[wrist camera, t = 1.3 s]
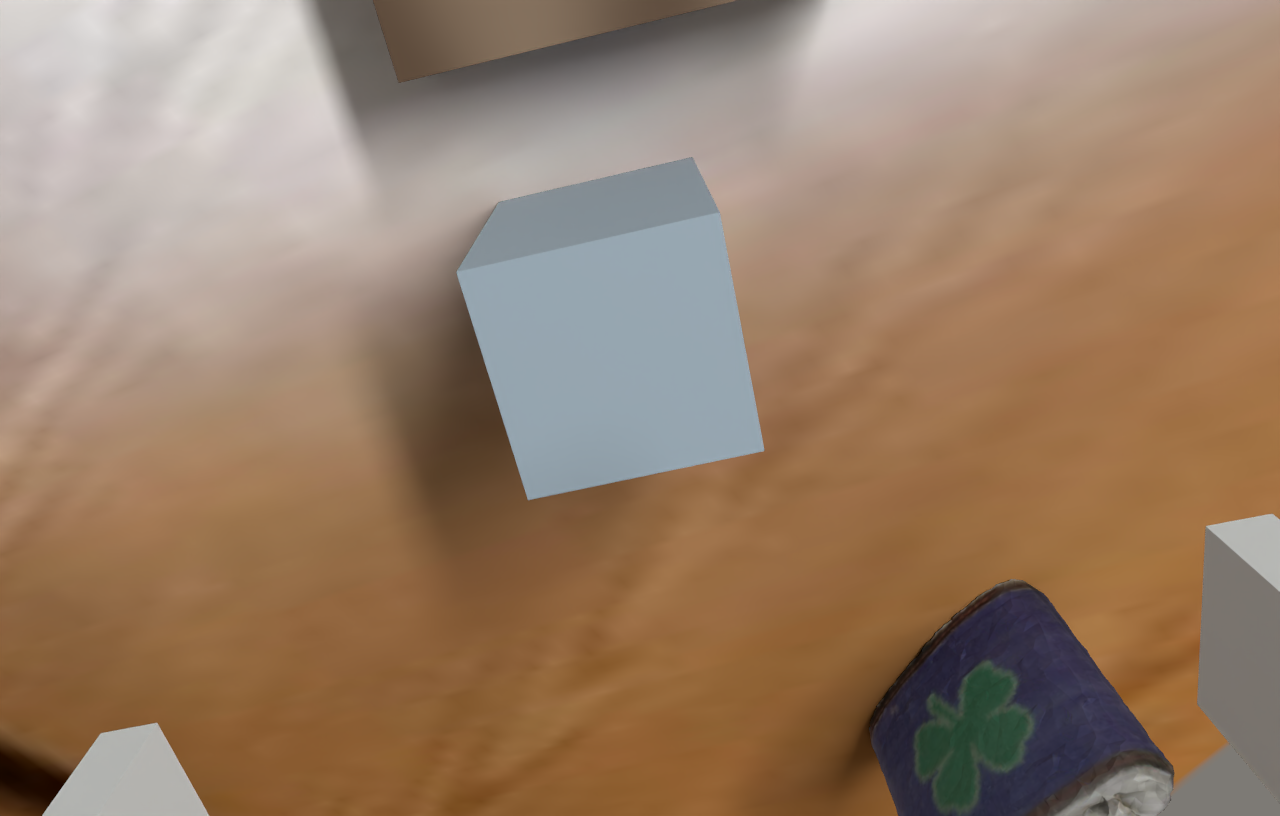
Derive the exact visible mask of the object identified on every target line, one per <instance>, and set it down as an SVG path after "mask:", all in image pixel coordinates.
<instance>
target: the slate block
mask: <svg viewBox="0 0 1280 816" xmlns="http://www.w3.org/2000/svg"><path fill="white" fill-rule="evenodd" d="M456 273H457V276H458V279H459V282H460V286H461V289H462V292H463V295H464V298H465V301H466V305H467V308H468V311H469V314H470V317H471V321H472V324H473V327H474V330H475V333H476V336H477V340H478V343H479V346H480V349H481V352H482V355H483V359H484V362H485V365H486V368H487V371H488V374H489V378H490V381H491V384H492V387H493V390H494V394H495V397H496V400H497V403H498V406H499V409H500V413H501V416H502V419H503V422H504V425H505V428H506V432H507V435H508V438H509V441H510V444H511V448H512V451H513V454H514V457H515V460H516V463H517V467H518V470H519V473H520V476H521V479H522V482H523V486H524V489H525V492H526V495H527V498H528V500H531V499H536V498H541V497H546V496H550V495H555V494H560V493H565V492H570V491H574V490H579V489H584V488H589V487H594V486H598V485H603V484H608V483H613V482H618V481H622V480H627V479H632V478H637V477H642V476H646V475H651V474H656V473H661V472H666V471H670V470H675V469H680V468H685V467H690V466H694V465H699V464H704V463H709V462H714V461H718V460H723V459H728V458H733V457H738V456H742V455H747V454H752V453H757V452H761V451H764V446H763V441H762V435H761V430H760V425H759V419H758V414H757V409H756V403H755V398H754V393H753V387H752V382H751V377H750V371H749V366H748V361H747V355H746V350H745V345H744V339H743V334H742V329H741V323H740V318H739V313H738V307H737V302H736V297H735V292H734V286H733V281H732V276H731V270H730V265H729V260H728V254H727V249H726V244H725V238H724V233H723V228H722V222H721V217H720V212H719V210H718V208H717V206H716V204H715V202H714V200H713V198H712V196H711V194H710V192H709V190H708V188H707V186H706V184H705V182H704V180H703V178H702V176H701V174H700V172H699V169H698V167H697V165H696V163H695V161H694V159H693V157H691V158H686V159H682V160H678V161H673V162H669V163H665V164H661V165H656V166H652V167H648V168H643V169H639V170H635V171H630V172H626V173H622V174H617V175H613V176H609V177H605V178H600V179H596V180H592V181H587V182H583V183H579V184H574V185H570V186H566V187H562V188H557V189H553V190H549V191H544V192H540V193H536V194H531V195H527V196H523V197H518V198H514V199H510V200H506V201H501V202H499V203H498V205H497V206H496V208H495V209H494V211H493V213H492V214H491V216H490V218H489V219H488V221H487V223H486V224H485V226H484V227H483V229H482V231H481V232H480V234H479V236H478V237H477V239H476V241H475V242H474V244H473V246H472V247H471V249H470V250H469V252H468V254H467V255H466V257H465V259H464V260H463V262H462V264H461V265H460V267H459V268H458V270H457V272H456Z"/></svg>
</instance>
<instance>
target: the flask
mask: <svg viewBox="0 0 1280 816" xmlns="http://www.w3.org/2000/svg"><path fill="white" fill-rule="evenodd" d="M876 707H877V708H876V710H875V712H874V715H873V717H872V719H871V720H870V727H869V730H870V737H871V744H872V747H873V749H874V751H875V753H876V756H877V758H878V760H879V763H880V766H881V769H882V772H883V774H884V776H885V779H886V782H887V784H888V787H889V790H890V793H891V795H892V798H893V800H894V803H895V806H896V809H897V813H898V816H1157V815H1158V814H1159V813H1161V812H1162V811H1164V810H1165V808H1166V807H1167V806H1168V804H1169V802H1170V801H1171V796H1170V793H1171V792H1172V791H1173V777H1174V770H1173V766H1172V765H1171V763H1170V762H1169V761H1168V760H1167V759H1166V758H1165V756H1164V754H1163V753H1162V752H1161V751H1160V750H1159V748H1158V747H1157V746H1156V745H1154V743H1153V742H1152V740H1151V739H1150V738H1149V736H1148V734H1147V732H1146V731H1145V729H1144V728H1143V727H1142V725H1141V724H1140V723H1139V721H1138V720H1137V719H1136V717H1135V716H1134V715H1133V713H1132V712H1131V711H1130V710H1129V708H1128V707H1127V706H1126V705H1125V704H1124V702H1123V700H1122V699H1121V697H1120V696H1119V695H1118V693H1117V692H1116V690H1115V689H1114V687H1113V686H1112V685H1111V684H1110V683H1109V682H1108V680H1107V679H1106V678H1105V677H1104V676H1103V674H1102V673H1101V671H1100V669H1099V668H1098V667H1097V665H1096V664H1095V662H1094V661H1093V659H1092V658H1091V657H1090V655H1089V653H1088V651H1087V650H1086V649H1085V648H1084V647H1083V646H1082V645H1081V643H1080V642H1079V641H1078V640H1077V639H1076V637H1075V636H1074V634H1073V633H1072V631H1071V630H1070V628H1069V627H1068V625H1067V624H1066V622H1065V621H1064V620H1063V619H1062V617H1061V616H1060V615H1059V613H1058V612H1057V611H1056V609H1055V608H1054V606H1053V604H1052V603H1051V602H1050V601H1049V599H1048V598H1047V597H1046V596H1045V595H1044V594H1043V593H1042V592H1040V591H1038V590H1037V589H1036V588H1034V587H1032V586H1031V585H1029V584H1028V583H1026V582H1025V581H1023V580H1015V579H1011V580H1009V581H1007V582H1004V583H1000V584H997V585H995V586H994V587H993V588H992V589H990V590H988V591H986V592H984V593H983V594H981V595H980V596H978V597H977V598H976V600H974V601H972V603H970V604H969V605H968V606H967V607H965V608H964V609H963V610H961V611H960V613H957V614H956V615H955V616H954V617H953V620H950V622H948V623H947V624H945V625H943V627H942V628H941V629H939V631H937V632H936V633H935V636H934V637H933V638H932V639H931V641H929V642H927V643H926V644H925V647H923V649H922V653H920V654H919V656H918V657H916V659H914V660H913V661H911V663H910V665H909V666H908V667H907V669H906V670H905V671H904V672H903V673H902V674H901V676H900V677H899V678H898V679H897V681H896V683H894V685H893V686H892V687H891V688H890V689H889V692H887V693H886V695H885V697H884V698H883V699H882V700H881V701H880V702H879V704H878V705H877V706H876Z"/></svg>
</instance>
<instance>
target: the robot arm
mask: <svg viewBox="0 0 1280 816" xmlns="http://www.w3.org/2000/svg"><path fill="white" fill-rule="evenodd" d="M1197 705H1198V706H1199V707H1200V708H1201V709H1202V711H1203V712H1204V713H1205V714H1206V715H1207V717H1208V718H1209V719H1210V720H1211V721H1212V723H1213V724H1214V725H1215V726H1216V727H1217V729H1218V730H1219V731H1220V732H1221V733H1222V735H1223V736H1224V737H1225V738H1226V740H1227V741H1228V742H1229V743H1230V744H1231V746H1232V747H1233V748H1234V749H1235V750H1236V752H1237V753H1238V754H1239V755H1240V756H1241V758H1242V759H1243V760H1244V761H1245V762H1246V764H1247V765H1248V766H1249V767H1250V769H1251V770H1252V771H1253V772H1254V773H1255V775H1256V776H1257V777H1258V778H1259V779H1260V780H1261V782H1262V783H1263V784H1264V785H1265V787H1266V788H1267V789H1268V790H1269V791H1270V793H1271V794H1272V795H1273V796H1274V798H1276V800H1277V801H1278V802H1279V804H1280V519H1278V518H1277V517H1276V516H1275V515H1273V514H1268V515H1263V516H1257V517H1252V518H1247V519H1241V520H1236V521H1231V522H1225V523H1220V524H1215V525H1209V526H1206V532H1205V553H1204V574H1203V595H1202V616H1201V637H1200V658H1199V679H1198V699H1197ZM42 816H209V815H208V813H207V811H206V809H205V807H204V806H203V804H202V802H201V800H200V799H199V797H198V795H197V793H196V791H195V790H194V788H193V786H192V784H191V782H190V781H189V779H188V777H187V775H186V774H185V772H184V770H183V768H182V766H181V765H180V763H179V761H178V759H177V757H176V756H175V754H174V752H173V750H172V748H171V747H170V745H169V743H168V741H167V740H166V738H165V736H164V734H163V732H162V731H161V729H160V727H159V725H158V723H153V724H148V725H143V726H137V727H132V728H127V729H121V730H116V731H111V732H105V733H101V734H100V735H99V736H98V738H97V739H96V741H95V742H94V743H93V745H92V746H91V748H90V749H89V751H88V752H87V753H86V755H85V756H84V758H83V759H82V760H81V762H80V763H79V765H78V766H77V767H76V769H75V770H74V772H73V773H72V774H71V776H70V777H69V779H68V780H67V781H66V783H65V784H64V786H63V787H62V788H61V790H60V791H59V793H58V794H57V795H56V797H55V798H54V800H53V801H52V802H51V804H50V805H49V807H48V808H47V809H46V811H45V812H44V814H43V815H42Z"/></svg>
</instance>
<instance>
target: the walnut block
mask: <svg viewBox="0 0 1280 816" xmlns="http://www.w3.org/2000/svg"><path fill="white" fill-rule="evenodd" d="M733 1H737V0H373V2H374V6H375V9H376V12H377V15H378V18H379V21H380V25H381V28H382V31H383V34H384V37H385V41H386V44H387V47H388V50H389V53H390V56H391V60H392V63H393V66H394V69H395V72H396V76H397V79H398V82H399V83H401V82H405V81H409V80H413V79H417V78H421V77H425V76H429V75H433V74H438V73H442V72H446V71H450V70H454V69H458V68H462V67H466V66H470V65H474V64H479V63H483V62H487V61H491V60H495V59H499V58H503V57H507V56H511V55H515V54H520V53H524V52H528V51H532V50H536V49H540V48H544V47H548V46H552V45H557V44H561V43H565V42H569V41H573V40H577V39H581V38H585V37H589V36H593V35H598V34H602V33H606V32H610V31H614V30H618V29H622V28H626V27H630V26H635V25H639V24H643V23H647V22H651V21H655V20H659V19H663V18H667V17H671V16H676V15H680V14H684V13H688V12H692V11H696V10H700V9H704V8H708V7H713V6H717V5H721V4H725V3H729V2H733Z"/></svg>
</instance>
